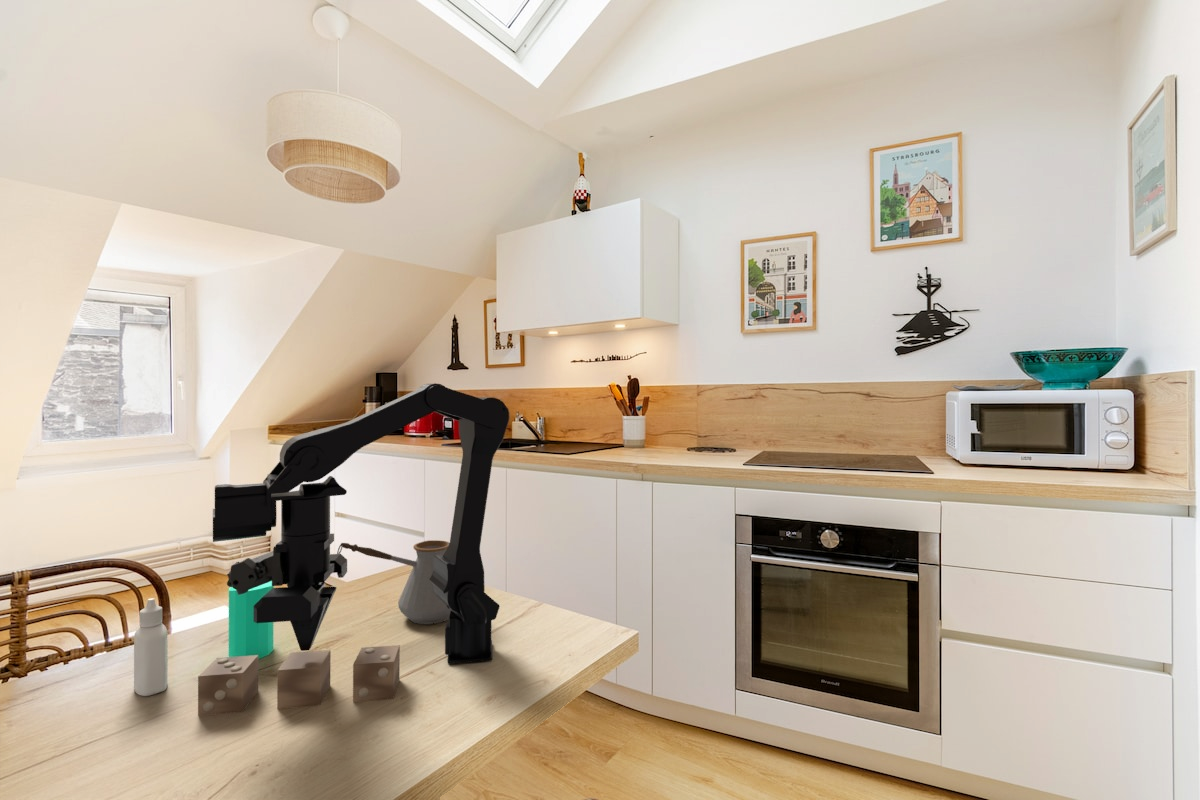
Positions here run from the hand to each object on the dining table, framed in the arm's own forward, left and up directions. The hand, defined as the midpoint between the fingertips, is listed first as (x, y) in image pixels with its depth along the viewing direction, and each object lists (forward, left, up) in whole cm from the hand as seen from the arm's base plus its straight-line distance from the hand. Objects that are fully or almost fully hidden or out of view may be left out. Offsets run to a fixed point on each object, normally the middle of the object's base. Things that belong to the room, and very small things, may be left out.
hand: (306, 649), depth 76 cm
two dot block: (-9, 0, -6) cm, 11 cm away
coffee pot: (-9, -24, -6) cm, 26 cm away
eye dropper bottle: (+21, -6, -6) cm, 23 cm away
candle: (+12, -15, -6) cm, 20 cm away
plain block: (0, 0, -6) cm, 6 cm away
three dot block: (+9, 0, -6) cm, 11 cm away
